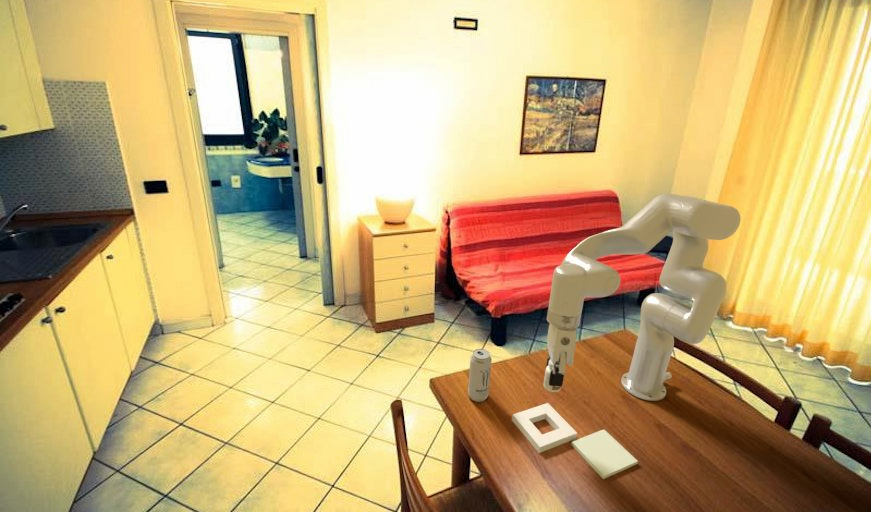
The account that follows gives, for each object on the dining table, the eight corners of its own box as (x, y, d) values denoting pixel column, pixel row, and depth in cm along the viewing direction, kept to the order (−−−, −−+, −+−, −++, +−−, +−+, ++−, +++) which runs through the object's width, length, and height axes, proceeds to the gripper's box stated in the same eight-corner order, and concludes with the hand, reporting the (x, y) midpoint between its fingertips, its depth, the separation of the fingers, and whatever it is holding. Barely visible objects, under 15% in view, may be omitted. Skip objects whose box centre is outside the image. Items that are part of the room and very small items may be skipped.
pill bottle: (556, 395, 101) (560, 369, 98) (540, 387, 104) (543, 362, 101) (563, 386, 104) (568, 361, 101) (548, 379, 107) (552, 354, 104)
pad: (603, 432, 109) (603, 429, 109) (636, 464, 100) (637, 461, 100) (571, 444, 105) (571, 441, 105) (603, 479, 96) (604, 476, 95)
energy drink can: (478, 406, 117) (482, 363, 111) (463, 395, 121) (466, 352, 115) (492, 397, 121) (496, 354, 115) (477, 386, 125) (480, 345, 119)
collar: (546, 408, 117) (547, 402, 116) (576, 438, 107) (577, 433, 106) (511, 420, 112) (512, 414, 111) (538, 453, 102) (539, 447, 101)
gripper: (588, 336, 88) (575, 403, 95) (572, 300, 104) (562, 359, 111) (553, 334, 89) (543, 400, 96) (542, 298, 104) (534, 357, 111)
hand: (553, 377), depth 103 cm, fingers closed on pill bottle, 4 cm apart
